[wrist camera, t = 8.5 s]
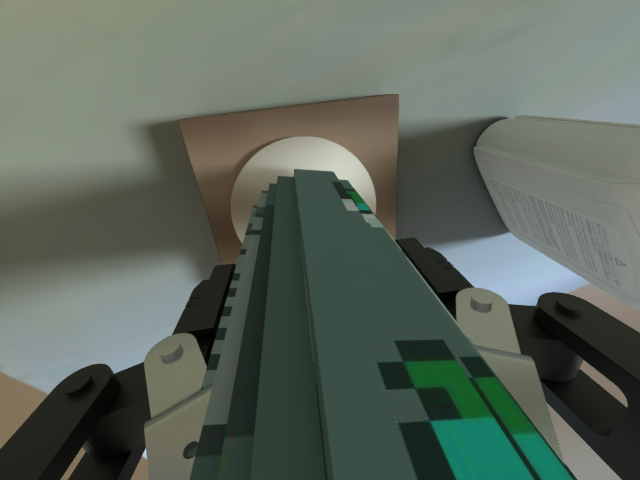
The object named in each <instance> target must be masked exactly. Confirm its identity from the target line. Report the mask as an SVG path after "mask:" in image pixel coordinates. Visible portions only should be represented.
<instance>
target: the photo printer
mask: <svg viewBox="0 0 640 480" xmlns="http://www.w3.org/2000/svg"><path fill="white" fill-rule="evenodd" d="M473 151H474V156H475V160H476V163H477V166H478V168H479V171H480V173H481V175H482V178H483V180H484V182H485V184H486V187H487V189H488V191H489V193H490V195H491V197H492V200H493V202H494V204H495V206H496V208H497V210H498V212H499V215H500V216H501V218H502V220H503V222H504V224H505V225H506V227H507V228H508V230H509V231H510V232H511V233H512V234H513V235H514V236H515V237H516V238H518V239H519V240H521V241H523V242H524V243H526V244H528V245H529V246H531V247H533V248H534V249H536V250H538V251H539V252H541V253H543V254H544V255H546V256H548V257H549V258H551V259H553V260H554V261H556V262H558V263H559V264H561V265H563V266H564V267H566V268H568V269H569V270H571V271H573V272H574V273H576V274H577V275H579V276H581V277H582V278H584V279H586V280H587V281H589V282H591V283H592V284H594V285H596V286H597V287H599V288H600V289H602V290H604V291H605V292H607V293H609V294H610V295H612V296H614V297H616V298H617V299H619V300H620V301H622V302H624V303H625V304H627V305H629V306H630V307H632V308H634V309H636V310H638V311H640V125H637V124H625V123H613V122H602V121H590V120H579V119H567V118H555V117H541V116H528V115H522V116H516V117H515V118H514V119H503V120H500V121H497V122H495V123H494V124H492V125H491V126H489V127H488V128H487V129H486V130H485V131H484V132H483V133H482V134H481V136H480V137H479V139H478V141H477V143H476V146H475V147H474V150H473Z"/></svg>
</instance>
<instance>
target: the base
mask: <svg viewBox="0 0 640 480" xmlns="http://www.w3.org/2000/svg"><path fill="white" fill-rule="evenodd" d="M398 114H399V94H386V95H375V96H366V97H358V98H349V99H341V100H333V101H324V102H316V103H307V104H299V105H290V106H282V107H274V108H265V109H257V110H248V111H240V112H232V113H223V114H215V115H206V116H198V117H191V118H187V119H182V120H178V122H179V126H180V129H181V132H182V135H183V138H184V142H185V145H186V148H187V151H188V155H189V158H190V161H191V164H192V167H193V171H194V174H195V177H196V180H197V184H198V187H199V190H200V193H201V196H202V200H203V203H204V206H205V209H206V212H207V216H208V219H209V222H210V225H211V229H212V232H213V235H214V238H215V241H216V245H217V248H218V251H219V254H220V258H221V261H222V264H223V265H226V264H232V263H235V264H237V261H238V258H239V254H240V251H241V247H242V244H243V240H244V237H245V233H246V230H247V226H248V223H249V219H250V216H251V212H252V209H253V205H258V202H259V198H260V194H261V190H262V191H268V189H269V183H274V184H277V177H278V176H288V177H294V169H304V170H319V171H333V172H334V173H335V175H336V176H337V178H338V179H339V180H348V181H349V182H350V184H351V185H352V186H353V188H354V189H355V190H356V191H357V192H358V194H359V195H360V196H361V197H362V199H363V200H364V201H365V202H366V204H367V205H368V206H369V208H370V209H371V210H372V212H373V213H374V214H375V216H376V217H377V218H378V220H379V221H380V222H381V223H382V225H383V226H384V227H385V229H386V230H387V231H388V233H389V234H390V235H391V237H392V238H393V239H394V240H396V203H397V159H398Z"/></svg>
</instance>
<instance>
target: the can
mask: <svg viewBox="0 0 640 480" xmlns="http://www.w3.org/2000/svg"><path fill="white" fill-rule="evenodd" d="M212 383H213V387H212V391H211V395H210V399H209V403H208V407H207V411H206V415H205V419H204V423H203V427H202V431H201V435H200V439H199V443H198V447H195V448H193V449H191V450H190V451H189V452H188V454H187V456H186V459H191V458H193V457H194V456H195V459H194V463H193V467H192V471H191V475H190V479H189V480H577V479H576V477H575V476H574V475H573V473H572V472H571V471H570V470H569V468H568V467H567V466H566V464H565V465H564V463H563V462H562V461H561V459H560V458H559V457H558V455H557V454H556V453H555V452H554V450H553V449H552V448H551V446H550V445H549V444H548V442H547V441H546V440H545V438H544V437H543V436H542V434H541V433H540V432H539V431H538V429H537V428H536V427H535V425H534V424H533V423H532V421H531V420H530V419H529V417H528V416H527V415H526V413H525V412H524V411H523V409H522V408H521V407H520V406H519V404H518V403H517V402H516V400H515V399H514V398H513V396H512V395H511V394H510V392H509V391H508V390H507V388H506V387H505V386H504V384H503V383H502V382H501V381H500V379H499V378H498V377H497V375H496V374H495V373H494V371H493V370H492V369H491V367H490V366H489V365H488V363H487V362H486V361H485V359H484V358H483V357H482V356H481V354H480V353H479V352H478V350H477V349H476V348H475V346H474V344H473V343H472V341H471V340H470V339H469V337H468V336H467V335H466V333H465V332H464V331H463V329H462V328H461V327H460V326H459V324H458V323H457V322H456V320H455V319H454V318H453V316H452V315H451V314H450V312H449V311H448V310H447V309H446V307H445V306H444V305H443V303H442V302H441V301H440V299H439V298H438V297H437V295H436V294H435V293H434V292H433V290H432V289H431V288H430V286H429V285H428V284H427V282H426V281H425V280H424V278H423V277H422V276H421V274H420V273H419V272H418V271H417V269H416V268H415V267H414V265H413V264H412V263H411V261H410V260H409V259H408V257H407V256H406V255H405V254H404V252H403V251H402V250H401V248H400V247H399V246H398V244H397V243H396V242H395V240H394V239H393V238H392V237H391V235H390V234H389V233H388V231H387V230H386V229H385V227H384V226H383V225H382V223H381V222H380V221H379V220H378V218H377V217H376V216H375V214H374V213H373V212H372V210H371V209H370V208H369V206H368V205H367V204H366V202H365V201H364V200H363V199H362V197H361V196H360V195H359V194H358V192H357V191H356V190H355V189H354V188H353V186H352V185H351V184H350V182H349V181H348V180H339V179H338V178H337V176H336V175H335V173H334V172H333V171H319V170H304V169H294V177H288V176H278V177H277V184H274V183H269V189H268V191H262V190H261V194H260V198H259V202H258V205H253V209H252V212H251V216H250V219H249V223H248V226H247V230H246V233H245V237H244V240H243V244H242V247H241V251H240V254H239V258H238V261H237V264H236V268H235V271H234V275H233V278H232V282H231V285H230V289H229V292H228V296H227V299H226V303H225V306H224V310H223V313H222V317H221V320H220V324H219V327H218V331H217V334H216V337H215V341H214V344H213V348H212V351H211V355H210V358H209V362H208V365H207V369H206V372H205V376H204V379H203V383H202V386H201V389H203V388H205V387H206V386H208V385H210V384H212Z"/></svg>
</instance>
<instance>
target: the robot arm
mask: <svg viewBox="0 0 640 480" xmlns="http://www.w3.org/2000/svg"><path fill="white" fill-rule="evenodd" d="M395 242H396V243H397V244H398V246H399V247H400V248H401V250H402V251H403V252H404V254H405V255H406V256H407V257H408V259H409V260H410V261H411V263H412V264H413V265H414V267H415V268H416V269H417V271H418V272H419V273H420V274H421V276H422V277H423V278H424V280H425V281H426V282H427V284H428V285H429V286H430V288H431V289H432V290H433V292H434V293H435V294H436V295H437V297H438V298H439V299H440V301H441V302H442V303H443V305H444V306H445V307H446V309H447V310H448V311H449V312H450V314H451V315H452V316H453V318H454V319H455V320H456V322H457V323H458V324H459V326H460V327H461V328H462V329H463V331H464V332H465V333H466V335H467V336H468V337H469V339H470V340H471V341H472V343H473V344H474V346H475V348H476V349H477V350H478V352H479V353H480V354H481V356H482V357H483V358H484V359H485V361H486V362H487V363H488V365H489V366H490V367H491V369H492V370H493V371H494V373H495V374H496V375H497V377H498V378H499V379H500V381H501V382H502V383H503V384H504V386H505V387H506V388H507V390H508V391H509V392H510V394H511V395H512V396H513V398H514V399H515V400H516V402H517V403H518V404H519V406H520V407H521V408H522V409H523V411H524V412H525V413H526V415H527V416H528V417H529V419H530V420H531V421H532V423H533V424H534V425H535V427H536V428H537V429H538V431H539V432H540V433H541V434H542V436H543V437H544V438H545V440H546V441H547V442H548V444H549V445H550V446H551V448H552V449H553V450H554V452H555V453H556V454H557V455H558V457H559V458H560V459H561V461H562V462H563V463H564V460H563V457H562V453H561V450H560V447H559V443H558V440H557V436H556V433H555V430H554V426H553V423H552V420H551V417H550V413H549V410H548V406H547V403H548V404H549V405H550V406H551V407H552V408H553V409H554V410H555V411H556V412H557V413H558V414H559V415H560V416H561V417H562V418H563V419H564V420H565V421H566V423H568V425H569V426H570V427H572V429H573V430H574V431H575V432H576V433H577V434H578V435H579V436H580V437H581V438H582V439H583V440H584V441H585V442H586V443H587V444H588V445H589V446H590V447H591V448H592V449H593V450H594V451H595V452H596V453H597V454H598V455H599V456H600V457H601V459H603V461H604V462H606V464H607V465H608V466H609V467H610V468H611V469H612V470H613V471H614V472H615V473H616V474H617V475H618V476H619V477H620V478H621V479H622V480H640V333H639V332H637V331H636V330H634V329H632V328H631V327H629V326H627V325H626V324H624V323H622V322H621V321H619V320H617V319H616V318H614V317H612V316H611V315H609V314H608V313H606V312H604V311H603V310H601V309H599V308H598V307H596V306H594V305H593V304H591V303H589V302H587V301H586V300H584V299H581V298H579V297H576V296H573V295H570V294H565V293H557V292H551V293H545V294H543V295H541V296H540V297H539V299H538V302H537V305H536V306H526V305H512V304H508V303H507V302H506V301H505V300H504V299H503V298H502V297H501V296H500V295H498V294H496V293H494V292H492V291H489V290H486V289H482V288H474V287H473V286H472V285H471V284H470V283H469V282H468V281H467V280H466V278H465V277H464V276H463V275H462V274H461V273H460V272H459V271H458V270H457V269H456V268H454V267H453V265H452V264H451V263H450V262H448V261H447V259H446V258H445V257H444V256H443V255H442V254H441V253H439V252H437V251H435V250H433V249H431V248H429V247H428V248H424V247H423V246H422V245H421V244H420V243H419V242H418V241H417V240H416V239H415V238H407V239H400V240H395ZM235 268H236V264H235V263H232V264H226V265H219V266H215V267H214V269H213V272H212V274H211V277H210V279H209V280H203V281H202V282H201V283H200V284H199V285H198V286H197V287H195V288H194V290H193V292H192V294H191V296H190V298H189V301H188V302H187V304H186V308H185V309H184V311H183V313H182V315H181V317H180V319H179V321H178V323H177V326H176V328H175V330H174V332H173V334H172V335H171V336H169V337H167V338H165V339H163V340H161V341H160V342H158V343H157V344H156V345H155V346H153V347H152V348H151V350H150V351H149V352H148V353H147V355H146V357H145V360H144V362H142V363H140V364H138V365H135V366H133V367H130V368H128V369H125V370H123V371H120V372H118V373H115V374H114V373H113V371H112V370H111V368H110V367H109V366H108V365H106V364H94V365H90V366H87V367H84V368H82V369H80V370H78V371H76V372H74V373H73V374H71V375H70V376H68V377H67V378H65V379H64V380H63V381H62V382H60V383H59V384H58V385H57V386H56V387H55V388H54V389H53V390H52V392H51V393H50V394H49V395H48V396H47V397H46V398H45V400H44V401H43V402H42V403H41V404H40V405H39V406H38V407H37V409H36V410H35V411H34V412H33V413H32V414H31V415H30V416H29V418H28V419H27V420H26V421H25V422H24V423H23V424H22V426H21V427H20V428H19V429H18V430H17V431H16V432H15V434H13V436H12V437H11V438H10V439H9V440H8V442H6V444H5V445H4V446H3V447H2V448H1V449H0V480H60V479H61V478H62V476H63V475H64V473H65V472H66V470H67V469H68V467H69V466H70V464H71V463H72V461H73V460H74V458H75V457H76V455H77V454H78V452H79V451H80V449H81V448H83V449H84V450H85V451H86V452H85V454H84V456H83V457H82V459H81V460H80V462H79V463H78V465H77V466H76V468H75V470H74V471H73V473H72V474H71V476H70V477H69V479H68V480H130V479H131V477H132V475H133V473H134V471H135V469H136V467H137V465H138V463H139V460H140V459H141V456H142V454H143V452H144V450H145V448H146V452H147V462H148V471H149V480H189V479H190V475H191V471H192V467H193V463H194V459H195V456H194V457H193V458H191V459H186V456H187V454H188V452H189V451H190V450H191V449H193V448H195V447H198V443H199V439H200V435H201V431H202V427H203V423H204V419H205V415H206V411H207V407H208V403H209V399H210V395H211V391H212V387H213V383H212V384H210V385H208V386H206V387H205V388H203V389H201V386H202V383H203V379H204V376H205V372H206V369H207V365H208V362H209V358H210V355H211V351H212V348H213V344H214V341H215V337H216V334H217V331H218V327H219V324H220V320H221V317H222V313H223V310H224V306H225V303H226V299H227V296H228V292H229V289H230V285H231V282H232V278H233V275H234V271H235ZM583 360H585V361H586V362H587V363H589V364H590V365H591V366H592V367H594V368H595V369H596V370H598V371H599V372H600V373H601V374H603V375H604V376H605V377H606V378H608V379H609V380H610V381H611V382H613V383H614V384H615V385H616V386H618V387H619V388H620V390H621V391H622V392H623V394H624V395H625V397H626V399H627V402H628V407H625V406H624V405H623V404H622V403H621V402H619V401H618V400H617V399H616V398H614V397H613V396H612V395H611V394H610V393H608V392H607V391H606V390H605V389H604V388H602V387H601V386H600V385H599V384H597V383H596V382H595V381H594V380H593V379H591V378H590V377H589V376H588V375H587V374H585V373H584V372H583V371H582V370H580V369H579V368H580V366H581V364H582V362H583ZM546 402H547V403H546ZM564 465H565V463H564Z"/></svg>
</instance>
